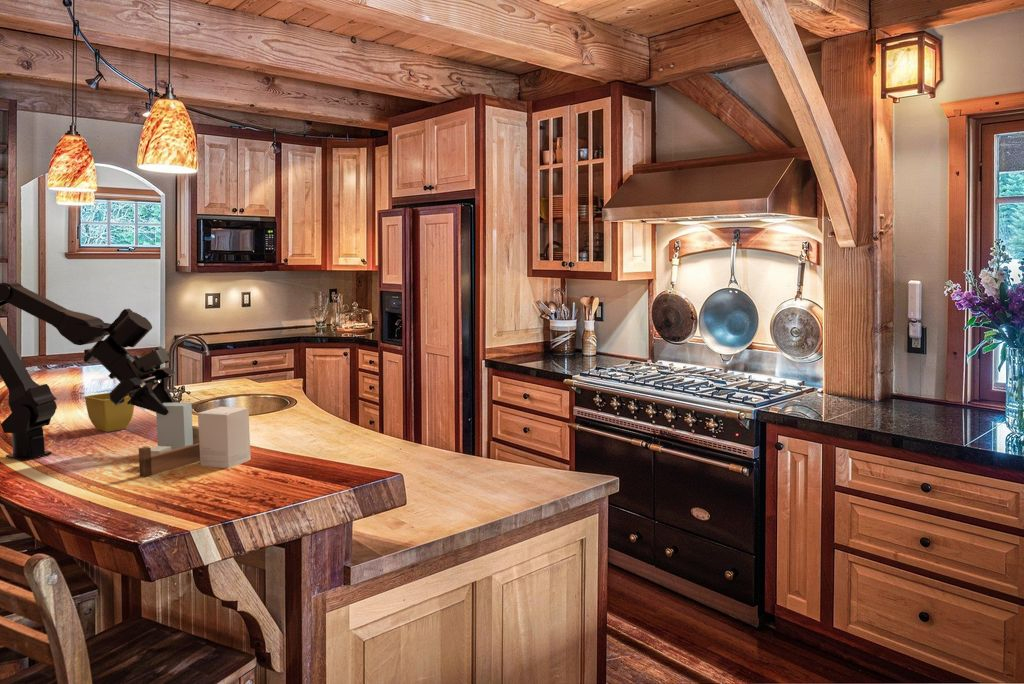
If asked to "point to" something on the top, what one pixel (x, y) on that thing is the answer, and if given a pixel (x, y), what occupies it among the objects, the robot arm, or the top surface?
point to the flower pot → (108, 412)
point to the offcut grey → (159, 449)
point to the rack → (169, 457)
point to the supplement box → (224, 437)
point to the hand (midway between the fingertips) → (171, 411)
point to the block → (175, 426)
